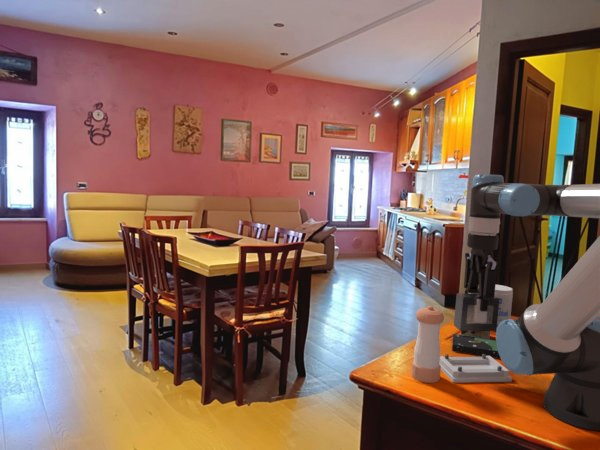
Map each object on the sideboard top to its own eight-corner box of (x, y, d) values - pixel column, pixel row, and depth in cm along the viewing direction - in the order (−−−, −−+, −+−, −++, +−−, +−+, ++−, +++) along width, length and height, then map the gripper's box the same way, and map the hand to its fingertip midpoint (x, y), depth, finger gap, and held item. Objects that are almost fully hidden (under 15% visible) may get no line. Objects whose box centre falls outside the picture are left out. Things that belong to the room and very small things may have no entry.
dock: (511, 381, 119) (512, 370, 118) (453, 382, 117) (454, 370, 116) (487, 362, 130) (488, 351, 130) (434, 363, 129) (435, 352, 128)
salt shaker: (410, 369, 124) (415, 301, 122) (438, 372, 123) (443, 303, 120) (412, 381, 117) (417, 308, 114) (441, 384, 115) (447, 311, 113)
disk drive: (451, 353, 138) (504, 360, 133) (452, 344, 138) (505, 351, 133) (452, 341, 148) (501, 348, 143) (452, 333, 148) (502, 339, 143)
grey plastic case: (496, 331, 121) (499, 298, 120) (460, 330, 120) (463, 297, 119) (488, 326, 125) (491, 294, 124) (453, 325, 124) (456, 293, 123)
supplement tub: (488, 331, 157) (491, 290, 155) (475, 322, 166) (478, 283, 165) (514, 332, 158) (518, 290, 156) (500, 323, 167) (504, 284, 166)
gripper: (515, 238, 111) (507, 330, 114) (480, 229, 128) (473, 309, 131) (486, 237, 110) (478, 330, 113) (455, 228, 127) (448, 309, 130)
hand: (475, 319), depth 122 cm, fingers closed on grey plastic case, 4 cm apart
